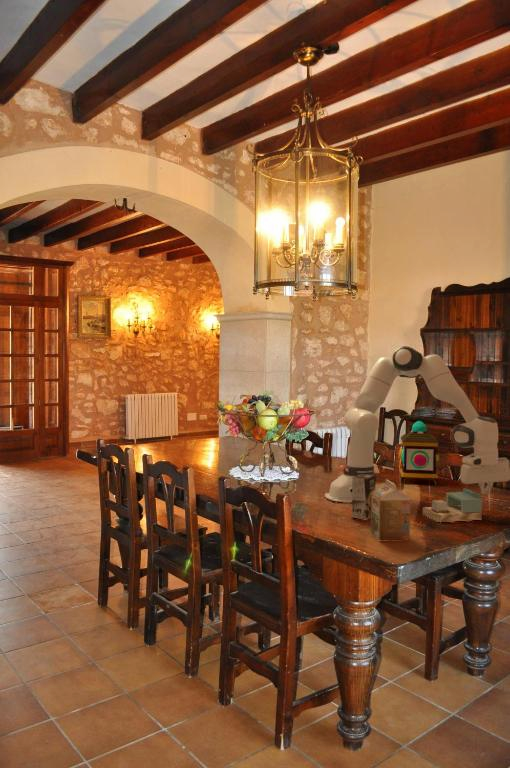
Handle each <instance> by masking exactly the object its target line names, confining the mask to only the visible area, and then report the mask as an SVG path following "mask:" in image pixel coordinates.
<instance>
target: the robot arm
mask: <svg viewBox="0 0 510 768" xmlns="http://www.w3.org/2000/svg"><path fill="white" fill-rule="evenodd" d="M420 376H421V377H422V378H423V381H424V382H425V384H426V386H427V389H428V391H429V393H430V394H431V395H432V396H433V398H435V399H437V400H439V401H442V402H445V403H448V404H451V405H453V406H454V407H455V408H456V409H458V411H459V412H460V415H461V416H462V417H463V419H464V420H465V423H460V424H458V425H455V426H454V428H453V429H452V432H451V439H452V442H453V443H454V444H455V445H456V446H457V447H459V448H463V449H466V448H467V449H468V448H473V453H471V454H468V455H466V456H463V457H462V458H461V462H462V463H463V464H462V465H461V468H460V481H461V482H462V484H466V485H471V484H478V487H479V488H480V494H481V495H486V494H487V495H488V494H491V489H492V487H493V485H494V483H498V482H500V483H501V482H509V481H510V460H509V459H508V458H507V457H505V456H504V457H499V450H498V442H499V427H498V423H497V421H496V419H494V418H492V417H489V416H483V415H481V414H480V412H479V411H478V409H477V407H476V406H475V404H474V403H473V401H472V400H471V398H470V397H469V395H468V394H467V393H466V391H465V390H464V389H463V388H462V387H461V386H460V385H459V383H458V381H457V380H456V379H455V377H454V375H453V374H452V372H451V370H450V369H449V366H448V365H447V363H446V362H445V361H444V359H443V357H441V356H440V355H438V354H435V353H434V354H429V355H426V356H423V354H422V353H421V352H420V351H418V350H416V349H415V348H413V347H411V346H405V345H403V346H400V347H398V348H396V349H395V351H393V353H392V357H388V356H382V357H380V358H378V359H377V360H376V361H375V364H373V366H372V368H371V369H370V371H369V373H368V375H367V377H366V379H365V382H364V384H363V386H362V388H361V390H360V392H359V393H358V395H357V396H356V398H355V399H354V400H353V402H352V404H351V406H350V407H349V409H348V410H347V411H345V413H344V415H343V422H344V425H345V426H346V428H347V430H349V431H350V438H349V443H348V445H347V458H346V459H347V464H346V465H345V466H344V465H342V464H341V465H340V466H339V467H338V468H339V469H340V470H341V471H342V472H343V473H342V474H340V475H339V476H338V477H337V478H336V479H335V480H333V481H332V482H331V483H330V487H329V492H327V493H324V495H325V497H326V498H328V499H330V500H333V501H340V502H343V503H352V483H353V477H355V476H357V475H360V474H369V475H375V467H374V445H375V441H376V437H377V432H378V429H379V427H380V420H379V419H378V417H377V415H376V412H377V411H378V410H379V408H380V407H381V406H382V405H383V404H384V403H385V401H386V398H387V397H388V394H389V393H390V391H391V388H392V386H393V384H394V381H395V380H396V378H398V377H400V378H408V379H415V378H418V377H420ZM485 483H486V487H485ZM325 497H324V498H325ZM326 498H325V499H326Z"/></svg>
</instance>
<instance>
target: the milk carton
mask: <svg viewBox="0 0 510 768" xmlns="http://www.w3.org/2000/svg"><path fill="white" fill-rule="evenodd" d="M396 486H397V485H396V484H394V483H393V482H391V481H390V480H389V479H385V483H383V484H381V485H379V486H378V487H376V488H375V490H374V491H373V492H372V493H371V518H370V533H371V532H372V533H373V534H374V535H375V536H376V537H377V538H378V539H379V540H406V539H407V540H409V539H410V540H411V499H410V498H409V497H408V496H407V495H406V494H405V493H403V492H401V491H400V490H399V489H398V488H397V487H396ZM372 533H371V534H372ZM373 534H372V535H373ZM374 535H373V536H374ZM375 536H374V537H375ZM376 537H375V538H376Z"/></svg>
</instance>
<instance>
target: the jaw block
mask: <svg viewBox="0 0 510 768" xmlns="http://www.w3.org/2000/svg"><path fill="white" fill-rule="evenodd" d="M431 507H432V511H434V512H436V513H447V502H446V500H443V499H436V500H435V499H434V500H431Z"/></svg>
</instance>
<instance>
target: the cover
mask: <svg viewBox="0 0 510 768" xmlns="http://www.w3.org/2000/svg"><path fill="white" fill-rule="evenodd" d="M481 495H482V493H479V492H476V491H474V490H471V489H468V488H462V491H454V492H446V493H445V502H447V506H454V505H461V512H462V513H468V512H481V513H482V512H483V511H482V510H483V509H482V508H483V498H481Z"/></svg>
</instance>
